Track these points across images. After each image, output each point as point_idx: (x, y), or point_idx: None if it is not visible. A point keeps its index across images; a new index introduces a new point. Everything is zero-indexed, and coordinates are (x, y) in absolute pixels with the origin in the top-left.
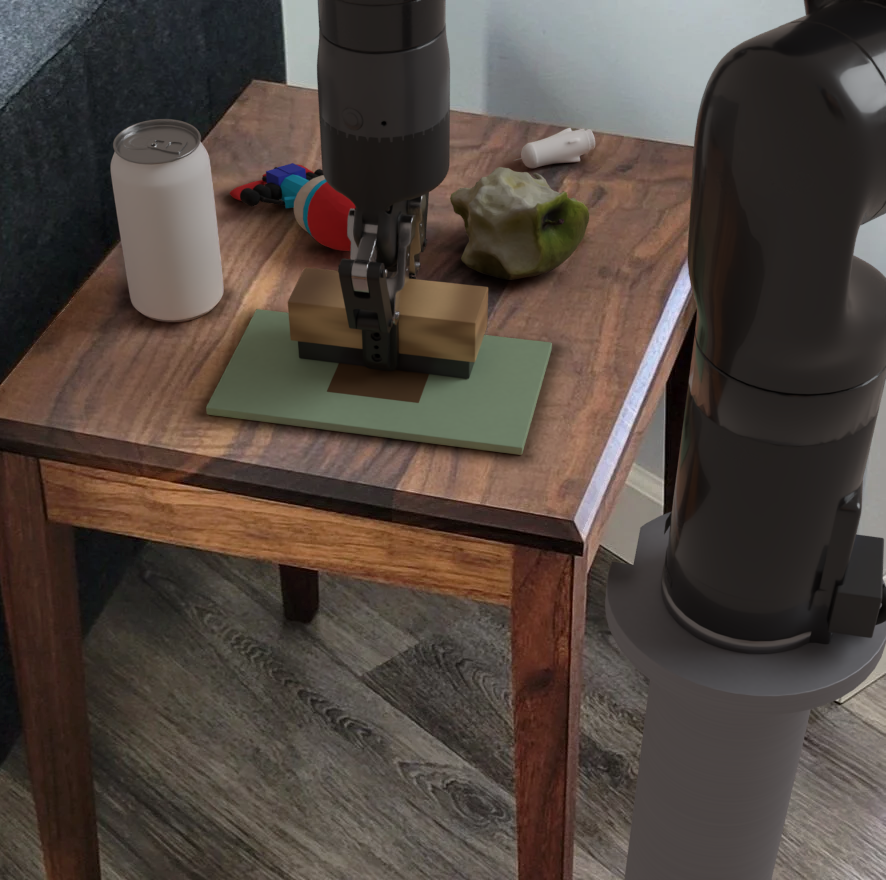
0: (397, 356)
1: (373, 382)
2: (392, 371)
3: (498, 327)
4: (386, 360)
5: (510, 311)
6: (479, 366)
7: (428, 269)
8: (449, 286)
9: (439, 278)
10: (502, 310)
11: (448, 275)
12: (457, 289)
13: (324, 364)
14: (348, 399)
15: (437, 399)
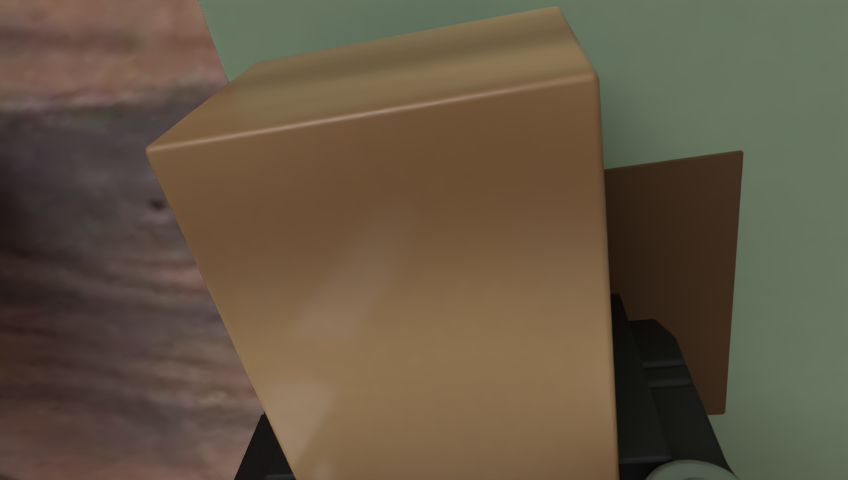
0: (615, 321)
1: None
2: None
3: (127, 49)
4: (680, 351)
5: (16, 44)
6: (433, 10)
7: (20, 347)
8: (273, 348)
9: (33, 311)
10: (31, 75)
11: (3, 294)
12: (272, 303)
13: None
14: (757, 355)
15: (704, 91)
